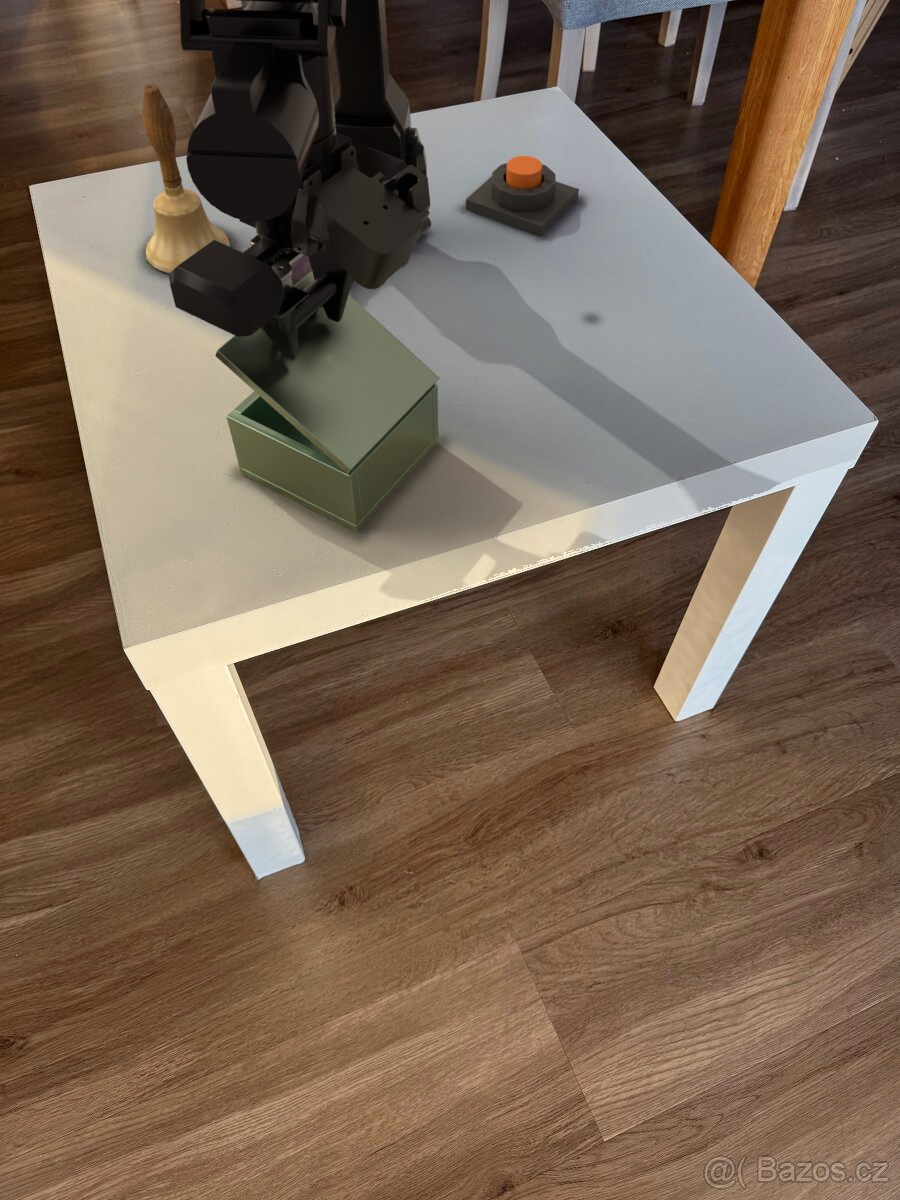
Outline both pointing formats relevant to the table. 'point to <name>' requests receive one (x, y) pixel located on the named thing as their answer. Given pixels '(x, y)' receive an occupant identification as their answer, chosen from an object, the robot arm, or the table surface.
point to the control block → (522, 201)
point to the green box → (313, 477)
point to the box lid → (333, 375)
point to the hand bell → (173, 195)
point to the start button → (524, 172)
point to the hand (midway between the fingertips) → (312, 338)
